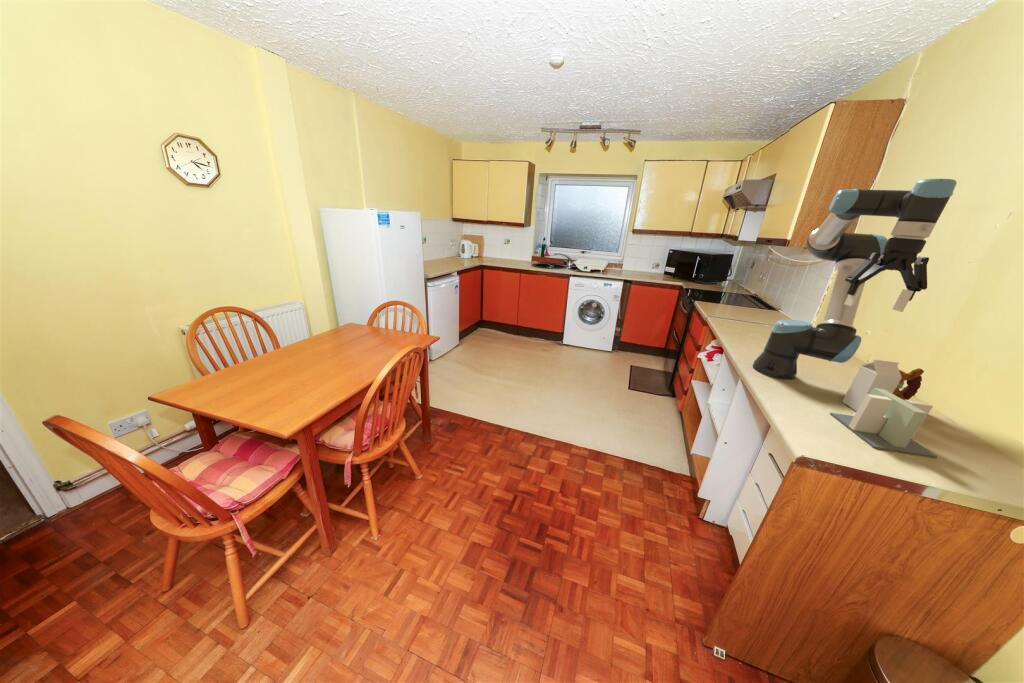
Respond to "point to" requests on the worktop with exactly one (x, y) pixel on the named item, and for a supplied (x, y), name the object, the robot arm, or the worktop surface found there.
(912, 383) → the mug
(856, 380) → the milk carton
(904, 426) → the pale green tall block
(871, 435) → the notched wall on base
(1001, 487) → the worktop surface
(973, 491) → the worktop surface
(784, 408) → the worktop surface
